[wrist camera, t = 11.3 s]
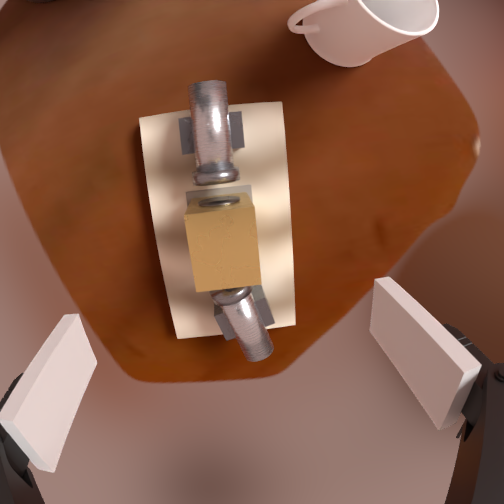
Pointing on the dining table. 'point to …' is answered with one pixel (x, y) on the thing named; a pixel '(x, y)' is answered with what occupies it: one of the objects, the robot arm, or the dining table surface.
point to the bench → (251, 181)
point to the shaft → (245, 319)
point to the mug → (362, 27)
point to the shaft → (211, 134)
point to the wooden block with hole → (223, 242)
